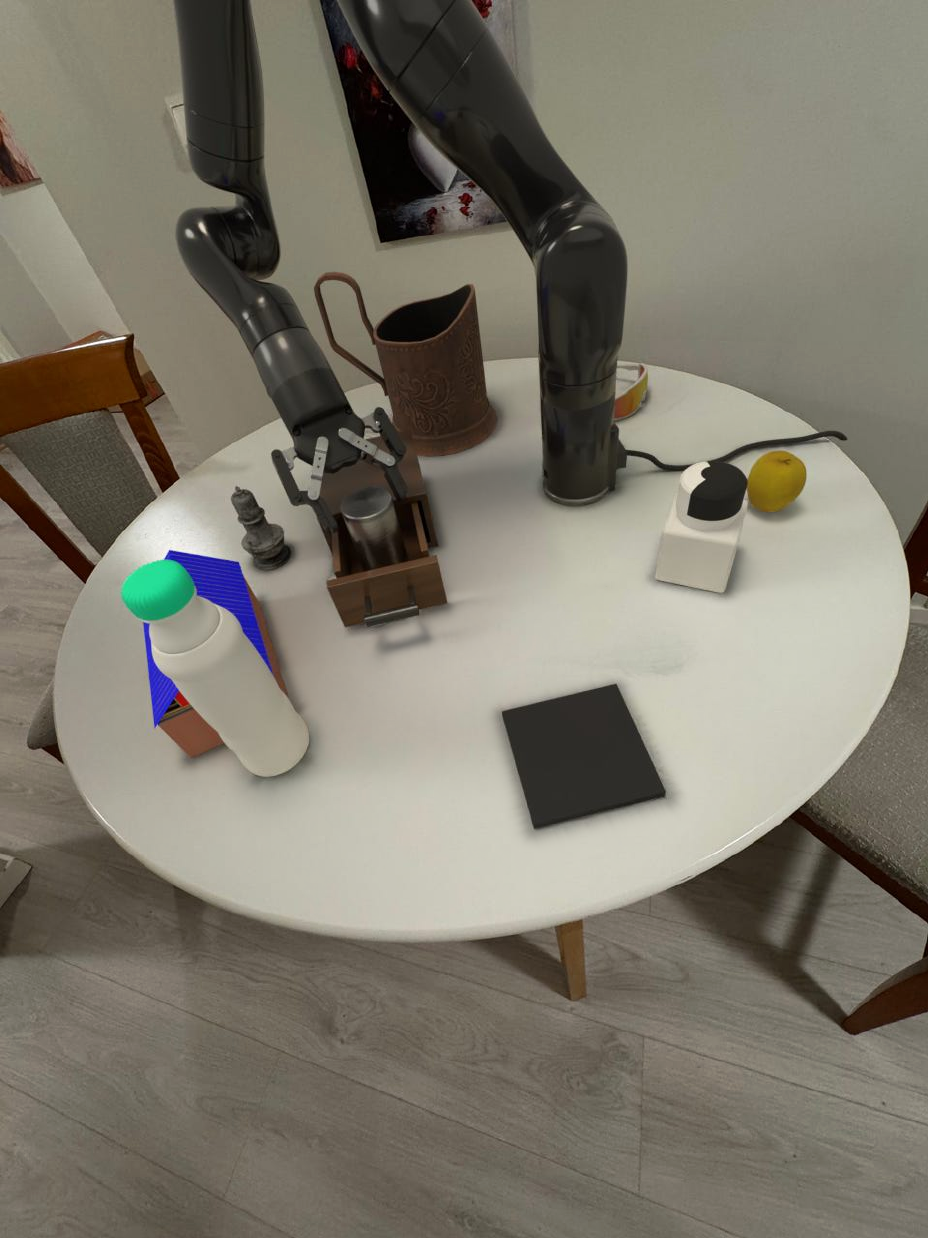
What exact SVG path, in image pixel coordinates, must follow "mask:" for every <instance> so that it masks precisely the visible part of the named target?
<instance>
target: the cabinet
mask: <svg viewBox="0 0 928 1238" xmlns="http://www.w3.org/2000/svg"><path fill="white" fill-rule="evenodd" d="M397 433H398V435H399V436H400V438H401V440H402V442H403V443H404V445H405V447H406V453H405V455H404V457H403V459H402V460H401V461H399V462H398V463H397V468H398V470H399V472H400V474H401V476H402V477H403V479H404V481H405V483H406V485H407V493H406V494H405V495H406V499H405V500H404V501H402V502H400V503H398V501H397V500H396V498H395V496H394V494H393V492H392V490H391V488H390V486H389V484H388V482H387V480H386V478H385V476H384V474H385V471H384V470H382V469H380V468H378V467H376V466H374V465H372V464H368V463H366V462H364V461H362V460H360V459H359V460H358V461H357V463H356V464H355V465H352V466H350V467H343V468H342V469H341V470H339V471H338V472H336V473H334V474H331V473H324V474H323V480H322V485H321V490H320V497H321V498H324V500H325V502H326V504H327V506H328V508H329V510H330V512H331V514H332V516H333V517H334V519H335V520H337V519H341V518H344V517H343V516H342V513H341V510H340V506H341V502H342V500H343V499H344V498H345V497H346V496H347V495H348V494H349V493H351V492H352V491H354V490H356V489H359V488H362V487H367V486H379V487H383V488H385V489H387V490H388V491H389V492H390V493H391V496H392V499H393V504H394V506H397V505H402V504H406V503H410V502H415V501H417V503H418V507H419V511H420V516H421V520H422V524H423V528H424V532H425V537H426V541H427V545H428V549H432V548H436V547H439V542H438V538H437V533H436V528H435V525H434V524H435V523H434V520H433V515H432V511H431V507H430V502H429V498H428V497H429V496H428V494H427V489H426V485H425V481H424V478H423V473H422V470H421V466H420V465H421V464H420V461H419V457H418V455H417V453H416V450H415V446H414V442H413V438H412V434H411V430H410V429H408V430H404V431H400V432H397ZM364 439H365V438H364ZM365 440H367V441H369V442H370V443H372V444H374V445H376V446H377V447H378V448H379V449H380V450H382V451H384V452H386V453H388V454H390V451H389V449H388V448H387V446H386V444H385V443H384V441H383V439H382V437H381V436H380V435H378V436H374V437H369V438H366V439H365ZM365 447H366V446H365ZM316 520H317V522H318V524H319V527H320V530H321V532H322V535H323V537H324V538H325V541H326V544H327V546H328V548H329V551H330V554H331V556H332V557H333V548H332V532H331V530H330V529H328V530H325V529H324V528H323V527H322V526H321V524H320V522H319V520H318V518H317V517H316Z"/></svg>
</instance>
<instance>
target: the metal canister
mask: <svg viewBox="0 0 928 1238" xmlns="http://www.w3.org/2000/svg"><path fill="white" fill-rule="evenodd" d="M340 510H341V513H342V516H343V517H344V520H345V523H346V525H347V528H348V531H349V533H350V536H351V539H352V542H353V544H354V547H355V550H356V552H357V555H358V558H359V561H360V563H361V566H362V569H363V571H364V572H366V571H370V570H374V569H378V568H383V567H387V566H391V565H395V564H400V563H404V562H408V561H409V557H408V554H407V550H406V547H405V543H404V540H403V536H402V533H401V529H400V526H399V522H398V518H397V515H396V511H395V508H394V504H393V499H392V496H391V493H390V492H389V491H388V490H387V489H385V488H383V487H379V486H367V487H362V488H359V489H356V490H354V491H352V492H351V493H349V494H348V495H347V496H346V497H345V498H344V499H343V500H342V502H341V506H340Z"/></svg>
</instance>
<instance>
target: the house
mask: <svg viewBox="0 0 928 1238" xmlns="http://www.w3.org/2000/svg"><path fill="white" fill-rule="evenodd" d="M163 560H173V561H175V562H178V563H179V564H180V565H182V566H183V567H184V568H185V570H186V571H187V572H188V573H189V575H190V576H191V578H192V580H193V583H194V586H195V587H196V590H197V595H196V596H199V597H203V598H205V599H207V600H209V601H211V602H212V603H214V604H216V605H219V606H221V607H223V608H225V609H227V610H228V611H230V612H231V613H232V614H233V615H234V616H235V617H236V618H237V620H238V621H239V623H240V625H241V627H242V630H243V633H244V634H245V635H246V636H247V638H248V639H249V640H250V641H251V643H252V644H253V645H254V647H255V648H256V650H257V651H258V653H259V654H260V656H261V657H262V659H263V660H264V662H265V663H266V665H267V666H268V668H269V670H270V671H271V673H272V675H273V676H274V678H275V680H276V682H277V684H278V686H279V688H280V689H281V690H282V691H283V692H284V693H285V695H286V696H287V697H288V699H289V700H290V696H289V693H288V690H287V686H286V684H285V680H284V678H283V674H282V671H281V668H280V664H279V662H278V659H277V656H276V651H275V649H274V645H273V643H272V639H271V637H270V633H269V631H268V627H267V624H266V621H265V617H264V615H263V612H262V608H261V605H260V602H259V600H258V598H257V597H256V595H255V593H254V591H253V589H252V588H251V586H250V585H249V583H248V581H247V580H246V578H245V576H244V573H243V570H242V566H241V564H240V561H236V560H230V559H225V558H218V557H212V556H207V555H201V554H195V553H189V552H184V551H178V550H172V549H168V551H167V553H166V555H165V556H164V559H163ZM142 624H143V634H144V643H145V644H144V645H145V654H146V663H147V664H146V665H147V671H148V682H149V691H150V700H151V709H152V718H153V725H154V726H153V729H154V730H156V727H159V728H160V729H161V730H162V731H163V732H164V733H165V734H166V735H167V736H168V737H169V738H170V739H171V740H172V741H173V742H174V743H175V744H176V745H177V746H178V747H179V748H180V749H181V750H182V751H184V753H185V754H187V756H188V757H189V758H191V759H192V758H194V757H197V756H198V755H200V754H202V753H205V752H208V751H209V750H212V749H214V748H216V747H218V746H220V745H224V744H225V743H224V742H223V740H222V739H221V737H220V735H219V733H218V732H217V731H216V730H215V729H214V728H212V727H211V726H210V725H209V724H208V723H207V722H206V721H205V720H204V719H203V718H202V717H201V716H200V714H199V713H198V712H197V711H196V710H195V709H194V708H193V707H192V706H191V704H190V703H189V702H188V701H187V700H186V698H185V697H184V696H183V695H182V693H181V692H180V691H179V690H178V688H177V687H176V685H175V684H174V683H173V681H172V679H170V678H169V677H167V676H166V675H164V674H163V673H162V672H161V671H160V670H159V668H158V667H157V665H156V664H155V662H154V659H153V655H152V648H151V639H150V635H149V626H150V624H149V623H145V622H143V621H142ZM290 701H291V700H290Z"/></svg>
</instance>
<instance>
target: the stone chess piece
mask: <svg viewBox="0 0 928 1238" xmlns="http://www.w3.org/2000/svg"><path fill="white" fill-rule="evenodd" d="M230 502H231V504H232V506H233V508H234V510H235V512H236V513H237V515H238V516H237V521H238V523H239V524H241V525H242V526H243V528H244V530H245V532H246V533H245V535H244V536H243V537H242V540H241V547H242V549H243V550H244V551H245V552H247V553H248V554H249V555H251V556H252V557H253V564H254V566H255V567H256V568H257V569H259V570H262V571H270V570H274V569H278V568H279V567H281V566H283V565H285V564H286V563H287V562H288V561H289V560H290V558H291V556H292V550H291V547H290V546H289V545H287V544H285V530H284V528H283V527H282V526H281V525H279V524H277V523H269V522H268V519H267V518H266V510H265V509H264V508H263V507H261V506H260V505H259V504H258V501H257V499H256V497H255V495H254V493H253V491H251V490H249V489H247V488H241V487H240V486H238V485H235V487H234V492H233V493H232V495H231V496H230Z"/></svg>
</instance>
